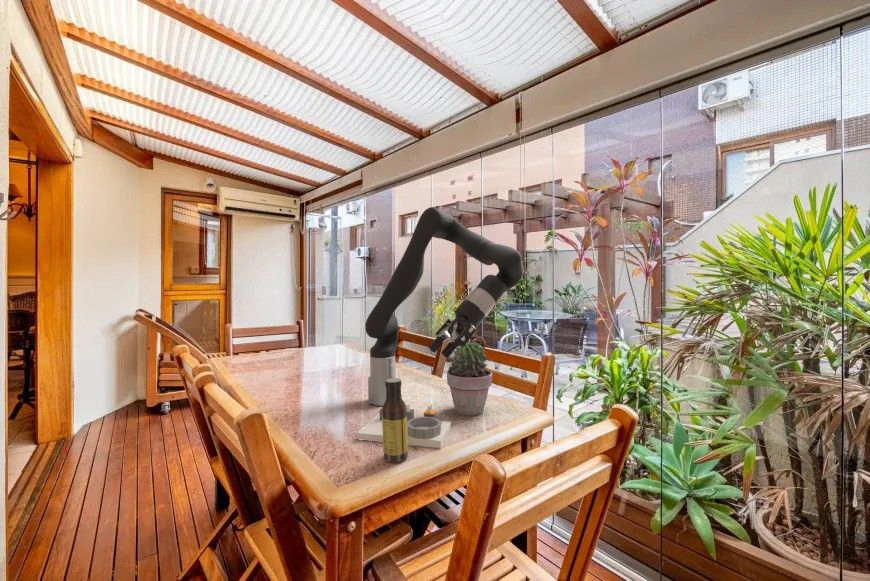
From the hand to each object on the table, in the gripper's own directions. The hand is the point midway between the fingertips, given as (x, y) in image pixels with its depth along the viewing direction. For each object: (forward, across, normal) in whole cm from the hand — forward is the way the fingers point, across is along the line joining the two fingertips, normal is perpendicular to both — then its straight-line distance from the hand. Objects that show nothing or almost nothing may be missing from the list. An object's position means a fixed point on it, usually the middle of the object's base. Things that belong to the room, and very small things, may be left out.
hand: (437, 353), depth 100 cm
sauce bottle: (+27, 0, +10) cm, 28 cm away
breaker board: (+21, -13, +14) cm, 29 cm away
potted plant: (+3, -23, +33) cm, 40 cm away
